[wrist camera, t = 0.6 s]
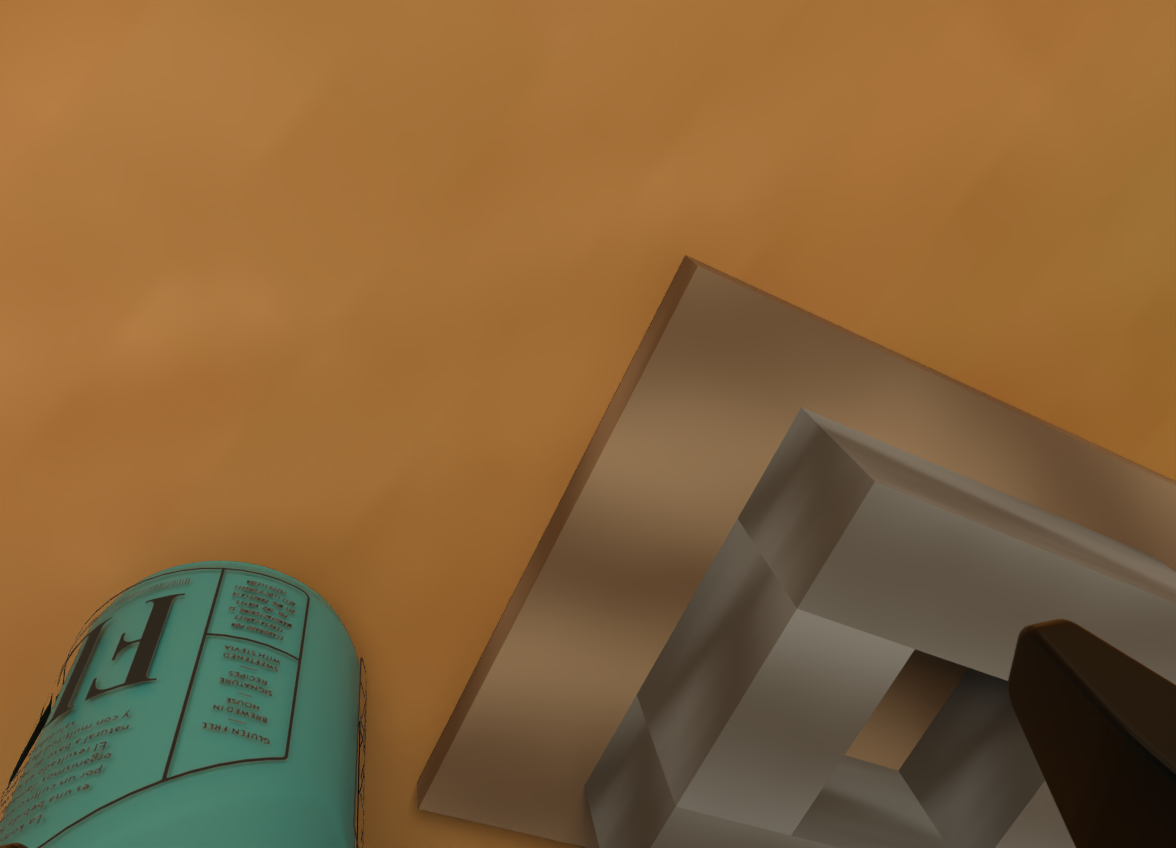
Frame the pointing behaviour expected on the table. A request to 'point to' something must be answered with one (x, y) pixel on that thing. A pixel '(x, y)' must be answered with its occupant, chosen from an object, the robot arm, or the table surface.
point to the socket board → (685, 513)
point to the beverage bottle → (199, 722)
